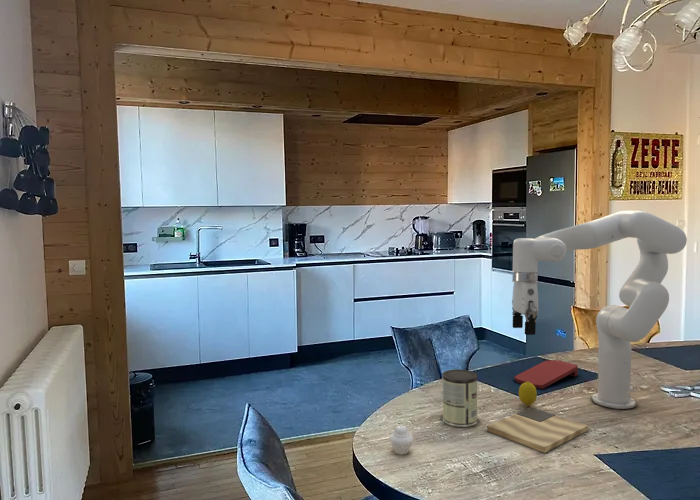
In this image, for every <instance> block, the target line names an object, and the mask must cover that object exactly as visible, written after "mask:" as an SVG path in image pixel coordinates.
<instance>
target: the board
mask: <svg viewBox="0 0 700 500" xmlns="http://www.w3.org/2000/svg"><path fill="white" fill-rule="evenodd" d="M486 427H487V428H486V429H487V432H489V433H491V434H495V435H497V436H500V437H501V438H504V439H507V440H510V441H512V442H515V443H517V444H521V445H523V446H525V447H528V448H531V449H533V450H536V451H539V452H541V453H543V454H546V453H547V452H549V451H551V450H554V449H555V448H557V447H559V446H561V445H563V444H565V443H568V442H569V441H571V440H573V439H574V438H576V437H579V436H580V435H582V434H584V433H587V432H588V431H589V426H588V425H587V424H584V423H580V422H577V421H574V420H571V419H568V418H566V417H565V418H564V417H561V416H558V415H556V414H554V413H551V412H549V411H546V410H545V411H544V410H542V409H540V408H539V409H538V408H535V407H533V406H531V407H529V408H527V409H524V410H521V411H518V412H517V413H515V414H513V415H510V416H508V417H506V418H504V419H500V420H498V421H496V422H493V423H492V424H488V425H487V426H486Z"/></svg>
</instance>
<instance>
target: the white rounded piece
mask: <svg viewBox="0 0 700 500" xmlns="http://www.w3.org/2000/svg"><path fill="white" fill-rule="evenodd" d="M413 442H414V437H413V435H412V434H411V433H410V432H409V428H408V427H407V426H405V425H397V426H395V428H394V430H393V432H392V433H391V434H390V435H389V443H390V445H391V447H392V450H393V451H394V452H395V454H397V455H406V454H408V452H409V450H410V448H411V447H412V445H413Z"/></svg>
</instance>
